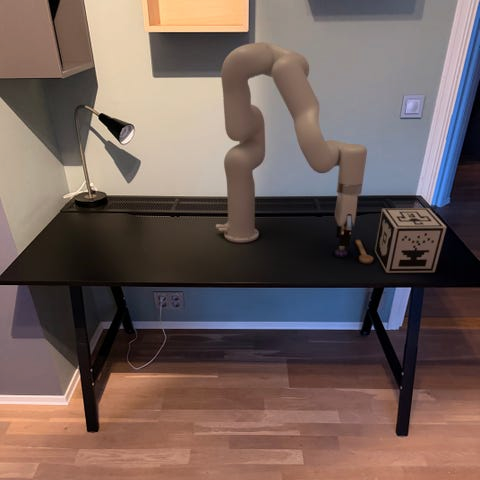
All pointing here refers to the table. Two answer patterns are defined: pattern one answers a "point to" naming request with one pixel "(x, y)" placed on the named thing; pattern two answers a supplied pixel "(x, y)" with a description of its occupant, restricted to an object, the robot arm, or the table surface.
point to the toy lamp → (341, 248)
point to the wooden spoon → (363, 253)
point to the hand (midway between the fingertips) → (342, 241)
